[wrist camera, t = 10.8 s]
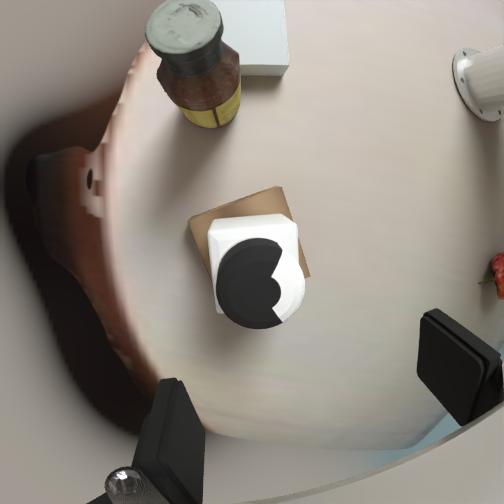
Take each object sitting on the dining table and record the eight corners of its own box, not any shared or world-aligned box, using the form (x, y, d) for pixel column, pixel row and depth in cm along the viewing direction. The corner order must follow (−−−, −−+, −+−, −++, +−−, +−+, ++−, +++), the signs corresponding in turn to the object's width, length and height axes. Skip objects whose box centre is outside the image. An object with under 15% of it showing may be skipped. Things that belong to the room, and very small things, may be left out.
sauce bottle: (231, 73, 30) (239, -33, 11) (246, 122, 32) (271, 51, 12) (175, 89, 30) (122, -2, 11) (188, 138, 31) (139, 86, 12)
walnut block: (275, 186, 34) (281, 187, 30) (301, 265, 36) (310, 276, 33) (191, 216, 34) (187, 221, 30) (223, 294, 36) (223, 308, 33)
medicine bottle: (219, 286, 32) (213, 345, 20) (211, 218, 30) (200, 244, 19) (286, 280, 32) (315, 334, 21) (282, 212, 31) (314, 234, 19)
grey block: (277, 10, 29) (282, -6, 25) (282, 76, 31) (289, 65, 27) (196, 11, 28) (193, -5, 24) (195, 78, 30) (191, 67, 26)
